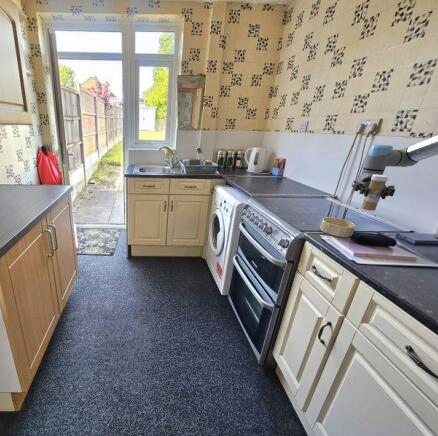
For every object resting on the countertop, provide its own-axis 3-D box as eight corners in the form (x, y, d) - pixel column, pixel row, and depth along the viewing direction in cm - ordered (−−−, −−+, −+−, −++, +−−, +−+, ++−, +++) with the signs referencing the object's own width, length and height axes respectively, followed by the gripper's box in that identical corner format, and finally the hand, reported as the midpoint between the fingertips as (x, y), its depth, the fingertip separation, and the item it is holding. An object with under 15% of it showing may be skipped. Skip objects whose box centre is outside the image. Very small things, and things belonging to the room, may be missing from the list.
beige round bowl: (348, 230, 115) (352, 220, 113) (354, 240, 105) (358, 229, 103) (317, 225, 120) (320, 215, 118) (321, 234, 110) (324, 224, 108)
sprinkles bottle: (367, 211, 94) (380, 176, 89) (357, 207, 99) (369, 174, 94) (378, 211, 95) (392, 176, 90) (367, 207, 99) (380, 174, 94)
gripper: (394, 195, 104) (404, 209, 87) (343, 188, 114) (343, 199, 96) (401, 177, 101) (412, 188, 84) (349, 172, 111) (349, 180, 94)
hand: (375, 194), depth 90 cm, fingers closed on sprinkles bottle, 4 cm apart
